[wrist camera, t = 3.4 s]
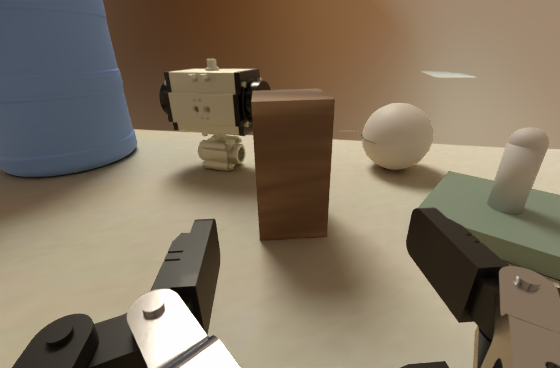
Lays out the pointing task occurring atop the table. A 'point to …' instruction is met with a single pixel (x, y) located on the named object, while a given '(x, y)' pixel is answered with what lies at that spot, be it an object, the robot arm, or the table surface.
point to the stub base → (503, 228)
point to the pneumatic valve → (213, 109)
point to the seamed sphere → (397, 136)
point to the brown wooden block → (292, 161)
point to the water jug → (59, 89)
